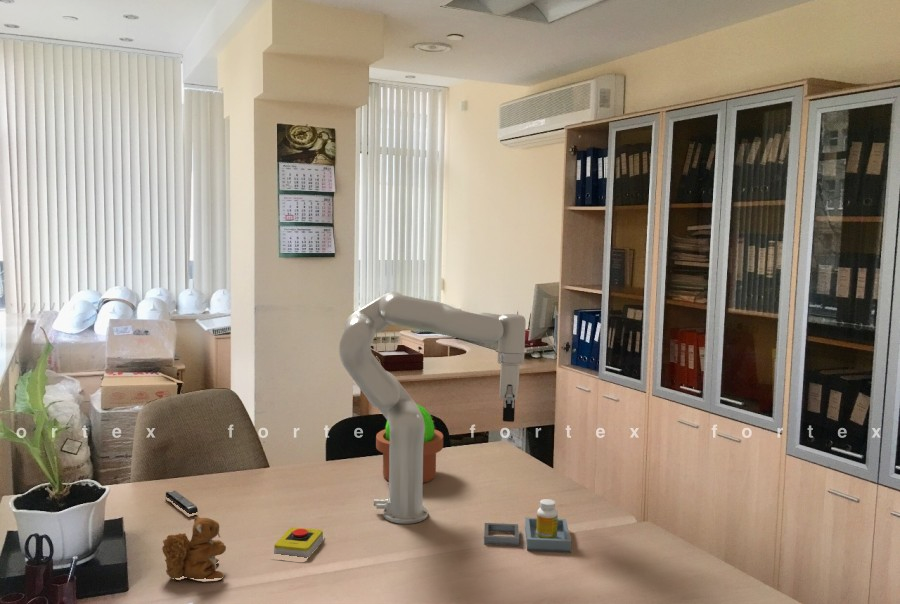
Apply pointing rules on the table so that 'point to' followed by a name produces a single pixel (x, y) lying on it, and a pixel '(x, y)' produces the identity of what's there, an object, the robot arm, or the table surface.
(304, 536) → the emergency button
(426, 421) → the potted cactus
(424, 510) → the robot arm
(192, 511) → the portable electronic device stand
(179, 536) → the stuffed squirrel
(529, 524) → the tray
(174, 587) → the table surface
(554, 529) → the supplement bottle
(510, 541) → the cradle
